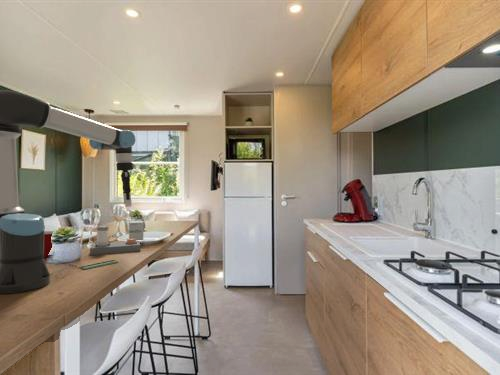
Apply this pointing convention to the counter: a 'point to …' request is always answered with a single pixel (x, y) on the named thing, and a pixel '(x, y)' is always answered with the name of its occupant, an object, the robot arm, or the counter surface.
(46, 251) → the plastic cup
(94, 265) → the mat
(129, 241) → the plunger
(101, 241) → the block
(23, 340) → the counter surface
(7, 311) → the counter surface
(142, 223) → the supplement box
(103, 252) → the dock
